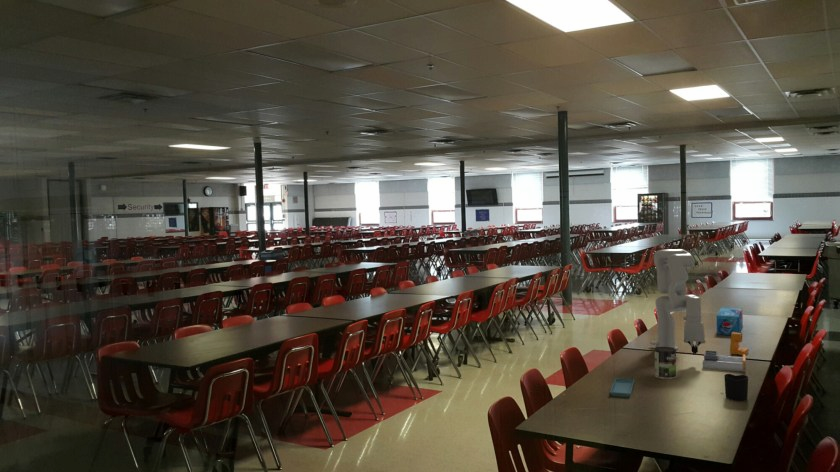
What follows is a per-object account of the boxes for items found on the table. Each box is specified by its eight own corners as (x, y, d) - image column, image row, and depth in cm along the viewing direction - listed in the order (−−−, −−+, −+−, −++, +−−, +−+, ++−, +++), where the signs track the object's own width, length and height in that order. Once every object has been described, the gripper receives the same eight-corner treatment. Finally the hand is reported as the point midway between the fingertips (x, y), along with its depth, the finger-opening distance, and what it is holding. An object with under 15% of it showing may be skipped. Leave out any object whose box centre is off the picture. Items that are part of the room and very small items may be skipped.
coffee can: (681, 377, 317) (680, 349, 316) (666, 380, 312) (666, 352, 311) (664, 372, 326) (664, 345, 325) (650, 375, 321) (649, 348, 320)
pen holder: (738, 402, 274) (737, 380, 273) (719, 397, 283) (719, 375, 282) (753, 399, 278) (753, 377, 277) (735, 394, 286) (734, 372, 286)
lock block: (704, 366, 334) (704, 353, 334) (705, 362, 342) (705, 349, 342) (717, 367, 331) (717, 354, 331) (718, 363, 339) (718, 350, 339)
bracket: (743, 356, 354) (743, 335, 354) (729, 354, 359) (729, 333, 359) (748, 352, 362) (748, 332, 362) (735, 351, 367) (734, 330, 367)
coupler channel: (702, 368, 332) (702, 357, 332) (704, 361, 345) (704, 351, 344) (745, 371, 323) (745, 360, 323) (745, 365, 336) (745, 354, 335)
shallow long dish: (614, 382, 313) (614, 377, 313) (634, 383, 310) (634, 378, 310) (609, 397, 289) (609, 392, 289) (630, 399, 286) (630, 393, 286)
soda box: (739, 336, 407) (739, 316, 406) (716, 335, 414) (715, 315, 413) (743, 325, 442) (742, 307, 441) (721, 324, 448) (721, 306, 448)
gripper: (678, 320, 339) (679, 354, 339) (708, 321, 332) (709, 355, 333) (679, 318, 346) (680, 351, 346) (709, 319, 339) (710, 353, 339)
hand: (694, 353), depth 339 cm, fingers closed
